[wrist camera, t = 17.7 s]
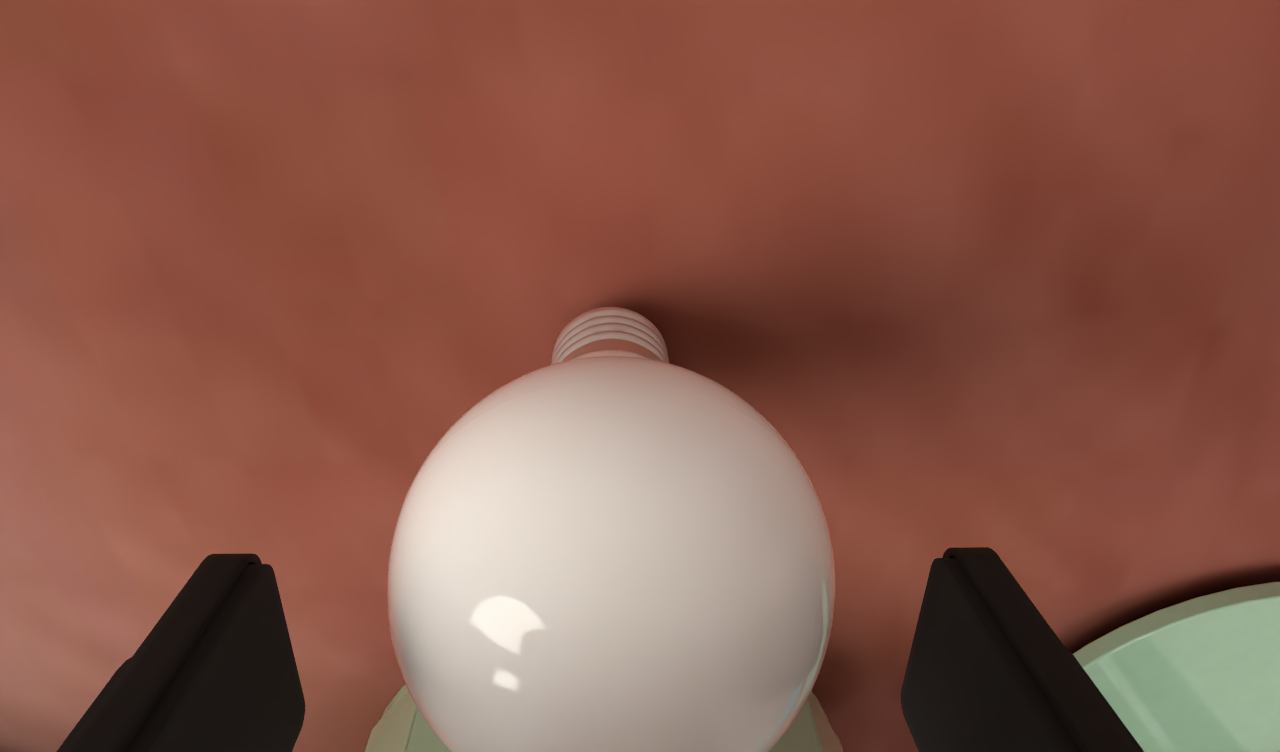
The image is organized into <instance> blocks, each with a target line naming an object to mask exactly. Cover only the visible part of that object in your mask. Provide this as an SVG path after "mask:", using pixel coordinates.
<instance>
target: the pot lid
mask: <svg viewBox="0 0 1280 752" xmlns="http://www.w3.org/2000/svg"><path fill="white" fill-rule="evenodd" d="M1073 655H1074V656H1075V658H1076V659H1077V661H1078V662H1079V663H1080V665H1081V666H1082V667H1083V669H1084V670H1085V672H1086V673H1087V674H1088V676H1089V677H1090V678H1091V680H1092V681H1093V682H1094V684H1095V685H1096V687H1097V688H1098V689H1099V691H1100V692H1101V693H1102V695H1103V696H1104V697H1105V699H1106V700H1107V702H1108V703H1109V704H1110V706H1111V707H1112V708H1113V710H1114V711H1115V713H1116V714H1117V715H1118V717H1119V718H1120V719H1121V721H1122V722H1123V723H1124V725H1125V726H1126V728H1127V729H1128V730H1129V732H1130V733H1131V734H1132V736H1133V737H1134V738H1135V740H1136V741H1137V743H1138V744H1139V745H1140V747H1141V748H1142V749H1143V751H1144V752H1280V582H1270V583H1264V584H1257V585H1251V586H1245V587H1238V588H1233V589H1229V590H1225V591H1221V592H1217V593H1213V594H1209V595H1205V596H1200V597H1196V598H1193V599H1190V600H1187V601H1184V602H1182V603H1179V604H1176V605H1173V606H1170V607H1167V608H1164V609H1161V610H1158V611H1156V612H1153V613H1151V614H1149V615H1146V616H1144V617H1142V618H1139V619H1137V620H1135V621H1132V622H1130V623H1128V624H1125V625H1123V626H1121V627H1119V628H1117V629H1115V630H1113V631H1111V632H1110V633H1108V634H1106V635H1104V636H1102V637H1100V638H1098V639H1096V640H1095V641H1093V642H1091V643H1089V644H1087V645H1086V646H1084V647H1083V648H1081V649H1079V650H1078V651H1076V652H1075V653H1073Z"/></svg>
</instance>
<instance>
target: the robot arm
mask: <svg viewBox="0 0 1280 752" xmlns="http://www.w3.org/2000/svg"><path fill="white" fill-rule="evenodd" d="M901 705H902V710H903V714H904V717H905V720H906V722H907V725H908V727H909V729H910V732H911V734H912V736H913V739H914V741H915V743H916V746H917V748H918V750H919V752H1144V751H1143V749H1142V748H1141V747H1140V745H1139V744H1138V743H1137V741H1136V740H1135V738H1134V737H1133V736H1132V734H1131V733H1130V732H1129V730H1128V729H1127V728H1126V726H1125V725H1124V723H1123V722H1122V721H1121V719H1120V718H1119V717H1118V715H1117V714H1116V713H1115V711H1114V710H1113V708H1112V707H1111V706H1110V704H1109V703H1108V702H1107V700H1106V699H1105V697H1104V696H1103V695H1102V693H1101V692H1100V691H1099V689H1098V688H1097V687H1096V685H1095V684H1094V682H1093V681H1092V680H1091V678H1090V677H1089V676H1088V674H1087V673H1086V672H1085V670H1084V669H1083V667H1082V666H1081V665H1080V663H1079V662H1078V661H1077V659H1076V658H1075V656H1074V655H1073V654H1072V653H1071V652H1070V651H1069V650H1068V649H1067V648H1066V647H1065V646H1064V645H1063V644H1062V643H1061V642H1060V640H1059V639H1058V637H1057V636H1056V635H1055V633H1054V632H1053V631H1052V629H1051V628H1050V626H1049V625H1048V624H1047V622H1046V621H1045V620H1044V618H1043V617H1042V615H1041V614H1040V613H1039V611H1038V610H1037V609H1036V607H1035V606H1034V604H1033V603H1032V602H1031V600H1030V599H1029V598H1028V596H1027V595H1026V593H1025V592H1024V591H1023V589H1022V588H1021V587H1020V585H1019V584H1018V582H1017V581H1016V580H1015V578H1014V577H1013V576H1012V574H1011V573H1010V571H1009V570H1008V569H1007V567H1006V566H1005V565H1004V563H1003V562H1002V560H1001V559H1000V558H999V556H998V555H997V554H996V553H995V552H994V551H993V550H992V549H990V548H988V547H987V548H949V549H947V550H946V551H945V553H944V555H943V558H937V559H935V560H934V561H933V563H932V566H931V569H930V573H929V578H928V582H927V586H926V590H925V594H924V598H923V602H922V606H921V611H920V615H919V619H918V623H917V627H916V631H915V635H914V640H913V644H912V648H911V652H910V656H909V660H908V664H907V668H906V673H905V677H904V681H903V685H902V689H901ZM304 715H305V701H304V696H303V692H302V687H301V683H300V679H299V675H298V671H297V666H296V662H295V658H294V654H293V650H292V645H291V641H290V637H289V633H288V629H287V624H286V620H285V616H284V612H283V608H282V603H281V599H280V595H279V591H278V587H277V582H276V578H275V574H274V571H273V568H272V567H271V566H270V565H268V564H262V563H261V560H260V558H259V557H258V556H257V555H256V554H212V555H209V556H207V557H206V558H205V559H204V560H203V561H202V563H201V564H200V565H199V567H198V568H197V570H196V571H195V572H194V574H193V575H192V576H191V578H190V579H189V580H188V582H187V583H186V585H185V586H184V587H183V589H182V590H181V591H180V593H179V594H178V595H177V597H176V598H175V600H174V601H173V602H172V604H171V605H170V606H169V608H168V609H167V610H166V612H165V613H164V614H163V616H162V617H161V619H160V620H159V621H158V623H157V624H156V625H155V627H154V628H153V629H152V631H151V632H150V634H149V635H148V636H147V638H146V639H145V640H144V642H143V643H142V644H141V646H140V647H139V648H138V650H137V651H136V653H135V654H134V655H133V657H131V658H130V659H128V660H126V661H125V662H124V663H123V665H122V666H121V667H120V668H119V669H118V670H117V671H116V672H115V674H114V675H113V676H112V678H111V679H110V680H109V682H108V683H107V684H106V686H105V687H104V689H103V690H102V691H101V693H100V694H99V695H98V697H97V698H96V699H95V701H94V702H93V703H92V705H91V706H90V707H89V709H88V710H87V711H86V713H85V714H84V715H83V717H82V718H81V719H80V721H79V722H78V723H77V725H76V726H75V728H74V729H73V730H72V732H71V733H70V734H69V736H68V737H67V738H66V740H65V741H64V742H63V744H62V745H61V746H60V748H59V749H58V750H57V752H292V750H293V747H294V745H295V743H296V740H297V738H298V735H299V733H300V731H301V728H302V725H303V721H304Z"/></svg>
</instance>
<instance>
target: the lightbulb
mask: <svg viewBox="0 0 1280 752" xmlns="http://www.w3.org/2000/svg"><path fill="white" fill-rule="evenodd" d="M834 606H835V565H834V556H833V549H832V543H831V538H830V533H829V529H828V525H827V521H826V518H825V515H824V512H823V508H822V506H821V503H820V500H819V498H818V495H817V493H816V491H815V489H814V486H813V484H812V482H811V480H810V478H809V476H808V474H807V473H806V471H805V469H804V467H803V466H802V464H801V462H800V461H799V459H798V458H797V456H796V455H795V453H794V452H793V450H792V449H791V447H790V446H789V445H788V443H787V442H786V441H785V439H784V438H783V437H782V436H781V435H780V433H779V432H778V431H777V430H776V429H775V428H774V427H773V426H772V425H771V424H770V423H769V422H768V420H767V419H766V418H765V417H764V416H762V415H761V414H760V413H759V412H758V411H757V410H756V409H755V408H753V407H752V406H751V405H750V404H749V403H747V402H746V401H745V400H743V399H742V398H741V397H739V396H738V395H736V394H735V393H733V392H732V391H730V390H729V389H727V388H726V387H724V386H722V385H721V384H719V383H717V382H715V381H713V380H711V379H709V378H707V377H705V376H703V375H701V374H699V373H696V372H694V371H691V370H689V369H686V368H683V367H680V366H677V365H674V364H670V363H669V358H668V352H667V347H666V344H665V341H664V339H663V337H662V335H661V334H660V332H659V330H658V329H657V328H656V327H655V326H654V325H653V324H652V323H651V322H650V321H649V320H648V319H647V318H645V317H644V316H642V315H640V314H638V313H636V312H634V311H632V310H628V309H625V308H619V307H601V308H596V309H592V310H589V311H587V312H584V313H582V314H580V315H579V316H577V317H576V318H574V319H573V320H572V321H570V322H569V323H568V324H567V325H566V326H565V327H564V329H563V330H562V331H561V333H560V334H559V336H558V338H557V340H556V342H555V345H554V349H553V354H552V363H551V365H549V366H546V367H543V368H540V369H537V370H534V371H532V372H530V373H527V374H525V375H523V376H520V377H518V378H516V379H514V380H513V381H511V382H509V383H507V384H505V385H503V386H502V387H500V388H498V389H497V390H495V391H494V392H492V393H490V394H489V395H488V396H486V397H485V398H483V399H482V400H481V401H479V402H478V403H477V404H475V405H474V406H473V407H472V408H471V409H469V410H468V411H467V412H466V413H465V414H464V415H463V416H462V417H460V418H459V419H458V420H457V421H456V422H455V423H454V424H453V425H452V427H451V428H450V429H449V430H448V431H447V432H446V433H445V434H444V435H443V437H442V438H441V439H440V440H439V442H438V443H437V444H436V445H435V447H434V448H433V449H432V451H431V452H430V454H429V455H428V457H427V458H426V460H425V461H424V463H423V464H422V466H421V467H420V469H419V471H418V473H417V475H416V476H415V478H414V480H413V482H412V484H411V486H410V488H409V490H408V493H407V495H406V497H405V500H404V502H403V505H402V507H401V510H400V513H399V516H398V519H397V523H396V527H395V530H394V534H393V538H392V544H391V549H390V555H389V563H388V573H387V610H388V621H389V628H390V635H391V639H392V644H393V649H394V652H395V656H396V659H397V663H398V666H399V669H400V672H401V674H402V677H403V679H404V682H405V684H406V687H407V689H408V691H409V693H410V695H411V697H412V699H413V701H414V703H415V705H416V707H417V708H418V710H419V712H420V714H421V715H422V717H423V718H424V720H425V721H426V723H427V724H428V726H429V727H430V729H431V730H432V731H433V733H434V734H435V735H436V737H437V738H438V739H439V740H440V741H441V743H442V744H443V745H444V746H445V747H446V748H447V749H448V751H449V752H769V751H770V750H771V749H772V748H773V747H774V746H775V745H776V744H777V743H778V741H779V740H780V739H781V738H782V737H783V735H784V734H785V733H786V731H787V730H788V729H789V728H790V726H791V725H792V723H793V722H794V720H795V719H796V717H797V716H798V714H799V713H800V711H801V709H802V708H803V706H804V704H805V702H806V700H807V699H808V697H809V695H810V693H811V691H812V689H813V687H814V684H815V682H816V680H817V677H818V675H819V672H820V670H821V667H822V664H823V661H824V658H825V654H826V651H827V647H828V643H829V639H830V634H831V629H832V623H833V616H834Z"/></svg>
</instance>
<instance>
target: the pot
mask: <svg viewBox="0 0 1280 752" xmlns="http://www.w3.org/2000/svg"><path fill="white" fill-rule="evenodd" d="M365 752H449V751H448V749H447V748H446V747H445V746H444V745H443V744H442V743H441V741H440V740H439V739H438V738H437V737H436V735H435V734H434V733H433V731H432V730H431V729H430V727H429V726H428V724H427V723H426V721H425V720H424V718H423V717H422V715H421V714H420V712H419V710H418V708H417V707H416V705H415V703H414V701H413V699H412V697H411V695H410V693H409V691H408V689H407V687H406V684H405V685H404V686H403V687H402V688H401V689H400V690H399V692H398V693H397V694H396V696H395V697H394V698H393V699H392V701H391V702H390V703H389V704H388V706H387V707H386V709H385V711H384V713H383V715H382V717H381V719H380V720H379V722H378V723H377V724H376V726H375V727H374V728H373V729H372V730H371V733H370V737H369V740H368V743H367V746H366V749H365ZM769 752H843V749H842V746H841V743H840V740H839V738H838V737H837V735H836V734H835V732H834V730H833V729H832V727H831V726H830V723H829V720H828V717H827V716H826V714H825V712H824V710H823V708H822V706H821V704H820V702H819V700H818V699H817V697H816V696H815V695H814V693H813V692H812V691H811V693H810V695H809V697H808V699H807V700H806V702H805V704H804V706H803V708H802V709H801V711H800V713H799V714H798V716H797V717H796V719H795V720H794V722H793V723H792V725H791V726H790V728H789V729H788V730H787V731H786V733H785V734H784V735H783V737H782V738H781V739H780V740H779V741H778V743H777V744H776V745H775V746H774V747H773V748H772V749H771V750H770V751H769Z"/></svg>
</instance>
